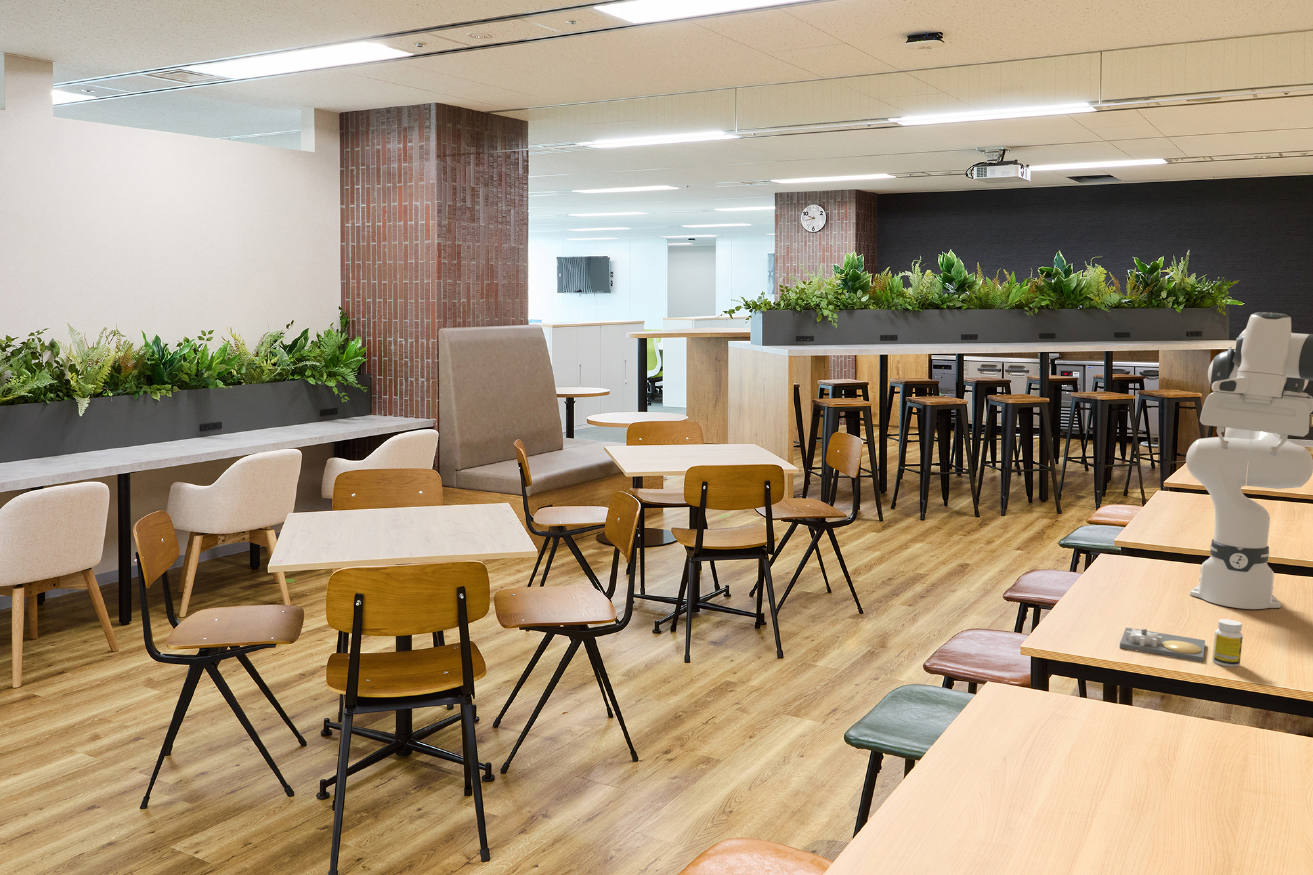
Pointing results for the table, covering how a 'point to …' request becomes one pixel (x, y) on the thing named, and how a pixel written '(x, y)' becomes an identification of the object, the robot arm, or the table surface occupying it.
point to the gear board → (1163, 644)
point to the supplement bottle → (1228, 643)
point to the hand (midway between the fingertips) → (1248, 452)
